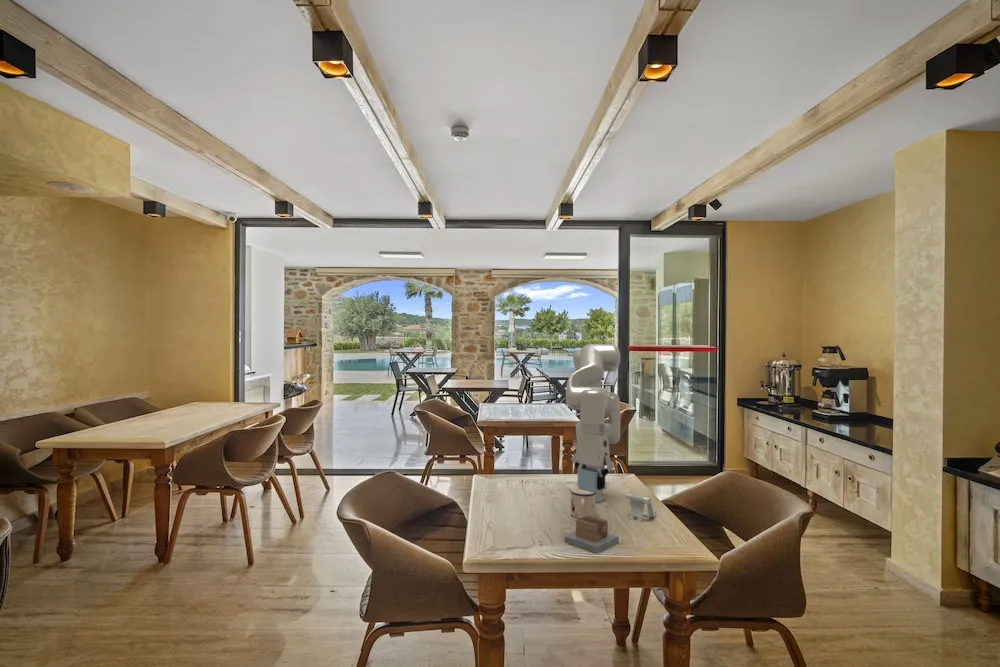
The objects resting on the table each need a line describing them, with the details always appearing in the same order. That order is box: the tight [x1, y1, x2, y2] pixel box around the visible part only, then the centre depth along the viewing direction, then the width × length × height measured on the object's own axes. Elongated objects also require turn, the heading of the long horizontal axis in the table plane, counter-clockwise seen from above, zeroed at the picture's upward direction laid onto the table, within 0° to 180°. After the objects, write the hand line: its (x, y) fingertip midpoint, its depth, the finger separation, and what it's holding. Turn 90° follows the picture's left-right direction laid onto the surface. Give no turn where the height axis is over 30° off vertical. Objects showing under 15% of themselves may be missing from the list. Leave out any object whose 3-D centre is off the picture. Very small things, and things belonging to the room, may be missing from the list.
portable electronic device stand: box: [625, 492, 658, 523], centre depth 188 cm, size 9×8×8 cm
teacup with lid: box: [570, 486, 596, 519], centre depth 188 cm, size 12×9×12 cm
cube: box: [577, 466, 606, 493], centre depth 164 cm, size 6×6×6 cm
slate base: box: [564, 530, 620, 555], centre depth 164 cm, size 12×12×2 cm
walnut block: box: [575, 515, 608, 542], centre depth 164 cm, size 7×7×5 cm
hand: (591, 486), depth 164 cm, fingers closed on cube, 6 cm apart
